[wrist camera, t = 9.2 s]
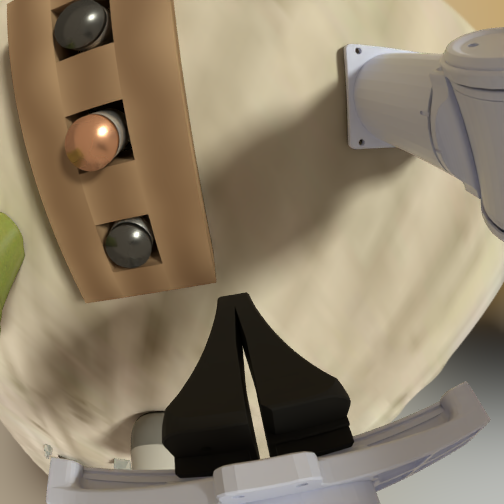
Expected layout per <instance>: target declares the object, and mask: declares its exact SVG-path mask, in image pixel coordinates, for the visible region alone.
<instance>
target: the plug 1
mask: <svg viewBox="0 0 504 504" xmlns="http://www.w3.org/2000/svg"><path fill="white" fill-rule="evenodd" d="M54 34H55V38H56V40H57V42H58V43H59V44H60V45H61V46H62V47H65V48H68V49H74V50H80V51H85V52H86V51H88V50H91V49H94V48H97V47H100V46H103V45H106V44H110V43H113V42H114V39H113V31H112V22H111V12H110V11H109V10H107V9H106V8H104V7H103V6H101V5H100V4H98V3H97V2H95V1H93V0H79V1H76V2H74V3H72V4H71V5H69V6H68V7H67V8H65V9H64V10H63V11H62V13H61V14H60V15H59V17H58V19H57V21H56V24H55V29H54Z"/></svg>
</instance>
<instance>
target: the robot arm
mask: <svg viewBox="0 0 504 504" xmlns="http://www.w3.org/2000/svg"><path fill="white" fill-rule="evenodd" d="M356 48H357V49H358V50H359V53H358V54H357V53H356V52H355V49H356ZM344 61H345V75H346V93H347V120H348V145H349V146H350V147H351V148H353V149H369V148H391V147H397V148H400V149H402V150H404V151H406V152H408V153H410V154H412V155H414V156H416V157H418V158H420V159H422V160H424V161H426V162H428V163H430V164H432V165H434V166H436V167H438V168H439V169H441V170H443V171H445V172H447V173H449V174H450V175H453V176H454V177H456V178H458V179H459V180H461V181H462V182H463V184H464V185H465V188H466V191H468V192H470V193H471V194H473V195H474V196H476V197H478V198H479V199H481V211H482V216H483V218H484V221H485V223H486V225H487V226H488V228H489V229H490V231H491V232H492V233H493V234H494V235H495V236H496V237H498V238H499V239H500V240H502V241H503V242H504V27H502V28H491V29H485V30H479V31H475V32H471V33H468V34H465V35H463V36H460V37H458V38H456V39H455V40H453V41H452V42H450V43H449V44H448V46H447V47H446V50H445V52H444V53H443V54H432V53H418V52H412V51H406V50H400V49H393V48H386V47H378V46H368V45H358V44H348V45H346V46H345V47H344ZM361 139H362V144H361V145H359V141H360V140H361ZM242 345H243V347H242ZM243 349H244V352H245V356H246V359H247V362H248V365H249V369H250V372H251V375H252V378H253V382H254V385H255V389H256V393H257V398H258V403H259V407H260V412H261V417H262V422H263V426H264V431H265V436H266V440H267V445H268V450H269V454H270V458H265V459H260V456H259V451H258V447H257V442H256V437H255V432H254V427H253V422H252V417H251V412H250V407H249V402H248V397H247V391H246V383H245V371H244V359H243ZM350 402H351V401H350V398H349V396H348V394H347V392H346V391H345V389H344V387H343V386H342V385H341V383H340V382H339V381H338V379H337V378H335V377H333V376H331V375H329V374H327V373H326V372H324V371H322V370H320V369H319V368H317V367H316V366H314V365H312V364H311V363H310V362H308V361H307V360H305V359H304V358H303V357H301V356H300V355H299V354H297V353H296V352H295V351H294V350H293V349H291V348H290V347H289V346H288V345H287V344H286V343H285V342H284V341H283V340H282V339H281V338H280V337H279V336H278V335H277V334H276V333H275V332H274V331H273V330H272V328H271V327H270V326H269V325H268V324H267V322H266V321H265V320H264V318H263V317H262V316H261V314H260V313H259V312H258V310H257V308H256V307H255V305H254V304H253V302H252V300H251V298H250V296H249V294H248V293H240V294H235V295H229V296H223V297H219V298H218V303H217V310H216V315H215V319H214V323H213V326H212V330H211V333H210V336H209V338H208V341H207V344H206V346H205V349H204V351H203V353H202V356H201V358H200V360H199V362H198V364H197V365H196V367H195V369H194V371H193V373H192V374H191V376H190V378H189V379H188V381H187V382H186V384H185V385H184V387H183V388H182V389H181V391H180V392H179V394H178V395H177V396H176V397H175V399H174V400H173V401H172V402H171V403H170V405H169V406H168V407H167V408H166V410H165V413H164V417H163V423H162V444H163V446H164V447H165V448H166V449H167V450H168V451H169V452H170V453H171V454H172V455H173V456H174V462H175V469H169V470H123V469H104V468H91V467H83V466H82V465H81V464H80V463H78V462H76V461H74V460H70V459H64V458H56V457H51V461H50V469H49V476H48V485H47V495H46V503H47V504H380V502H379V499H378V496H377V493H376V492H377V491H379V490H381V489H384V488H386V487H388V486H390V485H392V484H395V483H397V482H399V481H401V480H403V479H405V478H407V477H409V476H411V475H413V474H415V473H417V472H419V471H420V470H422V469H424V468H426V467H428V466H430V465H431V464H433V463H435V462H437V461H438V460H440V459H442V458H444V457H445V456H447V455H449V454H450V453H452V452H454V451H456V450H457V449H459V448H461V447H462V446H464V445H465V444H467V443H468V442H469V441H470V440H471V439H472V438H473V437H474V436H475V435H476V434H478V433H479V432H480V431H481V430H482V429H483V428H484V427H485V426H486V425H487V424H488V423H489V422H490V418H489V416H488V415H487V413H486V411H485V410H484V408H483V406H482V405H481V403H480V401H479V400H478V398H477V397H476V395H475V393H474V392H473V390H472V389H471V387H470V386H469V384H468V383H467V382H464V383H461V384H460V385H458V386H456V387H454V388H452V389H450V390H449V391H447V392H446V393H445V394H444V395H443V396H442V398H441V399H440V401H439V402H437V403H435V404H433V405H431V406H429V407H427V408H425V409H422V410H420V411H418V412H416V413H413V414H411V415H409V416H406V417H404V418H402V419H399V420H397V421H394V422H392V423H389V424H387V425H384V426H382V427H379V428H376V429H373V430H371V431H368V432H365V433H362V434H359V435H356V436H352V434H351V431H350V428H349V425H350V423H349V420H348V418H347V414H348V411H349V407H350Z"/></svg>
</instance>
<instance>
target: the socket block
mask: <svg viewBox="0 0 504 504" xmlns="http://www.w3.org/2000/svg"><path fill="white" fill-rule="evenodd" d="M76 1H79V0H14V1H12V2H10V3H8V4H7V26H8V44H9V56H10V65H11V73H12V81H13V87H14V94H15V100H16V105H17V110H18V115H19V120H20V125H21V129H22V134H23V138H24V142H25V146H26V150H27V154H28V157H29V161H30V165H31V168H32V171H33V175H34V178H35V181H36V184H37V188H38V191H39V194H40V197H41V200H42V203H43V205H44V208H45V211H46V214H47V216H48V219H49V222H50V224H51V227H52V230H53V232H54V235H55V237H56V240H57V242H58V244H59V247H60V249H61V252H62V254H63V256H64V259H65V261H66V263H67V265H68V267H69V270H70V272H71V274H72V276H73V278H74V280H75V282H76V285H77V287H78V289H79V291H80V293H81V295H82V297H83V299H84V301H85V303H90V302H97V301H104V300H111V299H117V298H124V297H130V296H137V295H143V294H149V293H156V292H162V291H168V290H174V289H180V288H186V287H192V286H198V285H204V284H210V283H216V273H215V264H214V254H213V248H212V243H211V238H210V233H209V227H208V222H207V217H206V212H205V206H204V201H203V195H202V190H201V184H200V179H199V173H198V167H197V162H196V156H195V150H194V144H193V138H192V132H191V125H190V119H189V113H188V106H187V100H186V93H185V86H184V79H183V72H182V65H181V58H180V50H179V43H178V35H177V27H176V18H175V10H174V1H173V0H93V1H95V2H97V3H98V4H100V5H101V6H103V7H104V8H110V11H111V22H112V31H113V39H114V42H113V43H110V44H106V45H103V46H100V47H97V48H94V49H91V50H88V51H86V52H83V53H80V54H79V52H78V50H74V49H68V48H65V47H62V46H61V45H60V44H59V43H58V42H57V40H56V38H55V34H54V29H55V24H56V21H57V19H58V17H59V15H60V14H61V13H62V11H63V10H64V9H65V8H67V7H68V6H69V5H71V4H72V3H74V2H76ZM121 99H123V105H124V110H125V115H126V121H127V126H128V131H129V135H130V140H131V145H132V149H129V150H125V151H121V152H119V153H118V154H117V155H116V156H115V157H114V158H113V159H112V160H111V161H110V162H109V163H108V164H107V165H106V166H105V167H103V168H101V169H99V170H96V171H84V170H81V169H79V168H77V167H76V166H74V165H73V164H72V163H71V161H70V160H69V158H68V156H67V154H66V151H65V137H66V134H67V131H68V129H69V128H70V126H71V125H72V124H73V123H74V122H75V121H76V120H77V119H79V118H81V117H84V116H86V115H89V113H88V109H91V108H94V107H97V106H101V105H104V104H107V103H111V102H114V101H118V100H121ZM146 214H148V215H149V218H150V222H151V226H152V229H153V233H154V236H155V237H154V241H153V245H152V250H151V254H150V257H149V259H148V260H147V262H146V263H144V264H143V265H141V266H139V267H136V268H125V267H122V266H119V265H117V264H116V263H115V262H113V261H112V260H111V259H110V257H109V256H108V254H107V251H106V247H105V244H106V239H107V237H108V235H109V233H110V231H111V229H112V227H113V225H114V223H115V221H118V220H122V219H127V218H132V217H136V216H141V215H146Z"/></svg>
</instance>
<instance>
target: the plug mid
mask: <svg viewBox="0 0 504 504" xmlns="http://www.w3.org/2000/svg"><path fill="white" fill-rule="evenodd" d="M129 140H130V135H129V131H128V126H127V121H126V115H125V114H124V113H123V112H121V111H120V110H117V109H113V108H107V109H103V110H100V111H97V112H94V113H92V114H89V115H86V116H84V117H81V118H79V119H77V120H76V121H75V122H74V123H73V124H72V125H71V126H70V128H69V129H68V131H67V134H66V137H65V151H66V154H67V156H68V158H69V160H70V161H71V163H72V164H73V165H74V166H76V167H77V168H79V169H81V170H84V171H96V170H99V169H101V168H103V167H105V166H106V165H107V164H108V163H109V162H110V161H111V160H112V159H113V158H114V157H115V156H116V155H117V154H118V153H119V152H120V151H121V150H122V149H124V147H125V146H126V145H127V144H128V142H129Z"/></svg>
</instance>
